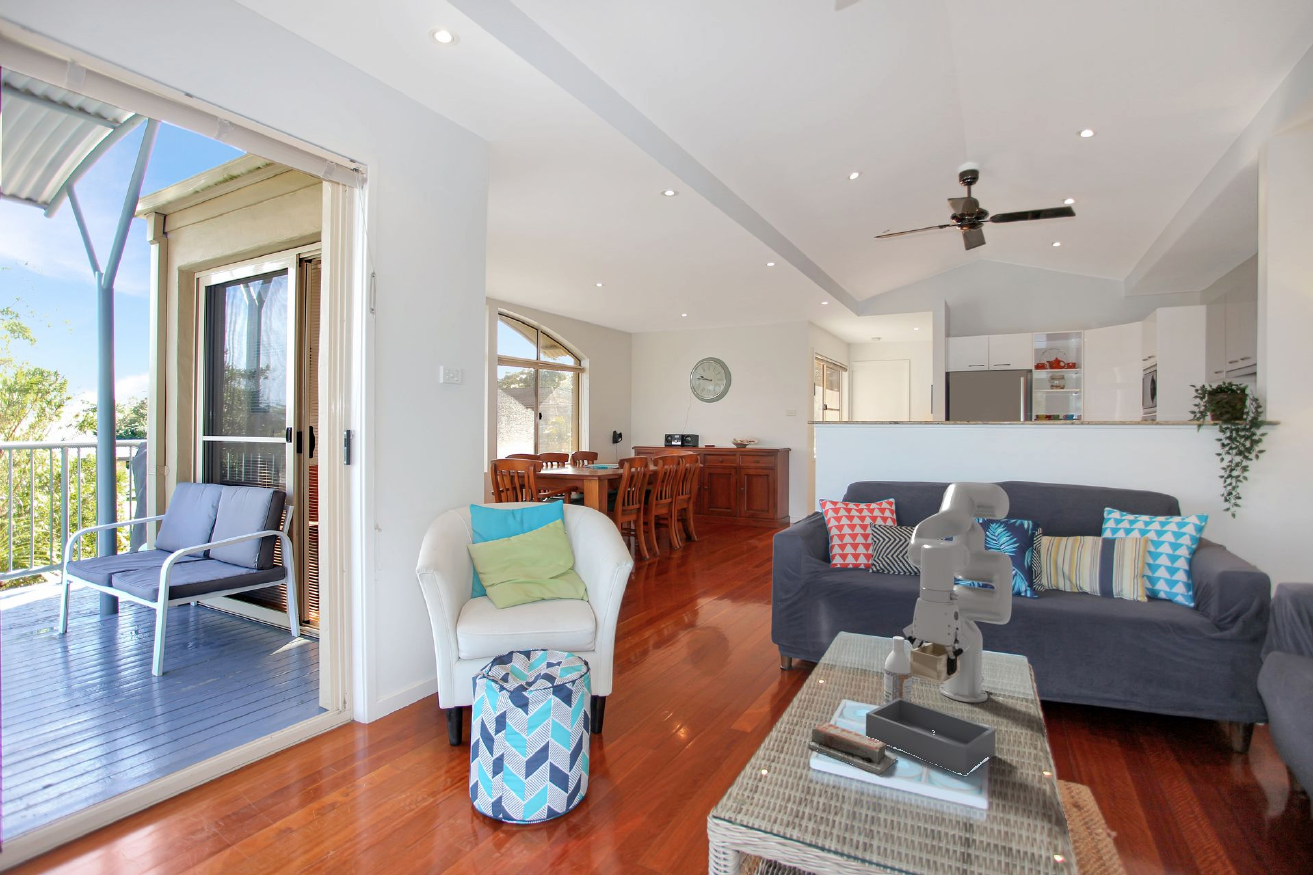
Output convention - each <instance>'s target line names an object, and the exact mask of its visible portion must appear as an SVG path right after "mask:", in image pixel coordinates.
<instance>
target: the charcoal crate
mask: <svg viewBox="0 0 1313 875" xmlns="http://www.w3.org/2000/svg"><path fill="white" fill-rule="evenodd" d="M865 718H866V719H865V736H868V737H870V738H874V739H877V740H879V741H881V742H883V743H885V744H887V745H890V746H892V747H896V748H897V749H901V750H903V751H905V752H907V753H910V754H912V755H915V756H917V757H919V758H921V759H923V760H926V761H928V762H931V763H933V764H937V765H938V766H942V767H943V768H946V769H949V770H951V771H954V772H956V773H961V774H962V775H967V773H969V772H970V771H971V770H972V769H973V768H974V767H975V766H977V765H978V764H980V762H982V761H983V760H984V759H985V758H987V757H989V758H990V759H992V758H993V757H994V756H996V728H993V727H989V726H986V725H983V724H980V723H978V722H975V721H971V720H968V719H966V718H962V717H959V716H956V715H952V714H950V713H948V712H944V711H942V710H941V711H940V710H938V709H934V708H932V707H929V706H925V705H923V704H920V703H916V702H914V701H912V700H911V701H908V700H905V699H902V698H897V699H895V700H893V701H891V702H888V703H886V704H884V703H883V705H881V706H878V707H876V708H875V709H873V710H870V711H868V712H866V713H865ZM932 730H934V731H935V733H933V732H934V731H932ZM933 734H935V735H933ZM923 760H922V761H923ZM928 762H927V763H928ZM933 764H932V765H933ZM938 766H937V767H938ZM943 768H942V769H943ZM946 769H945V770H946ZM951 771H950V772H951ZM956 773H955V774H956Z"/></svg>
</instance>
